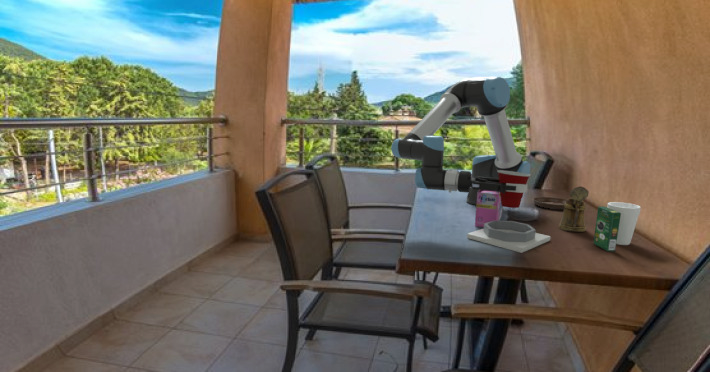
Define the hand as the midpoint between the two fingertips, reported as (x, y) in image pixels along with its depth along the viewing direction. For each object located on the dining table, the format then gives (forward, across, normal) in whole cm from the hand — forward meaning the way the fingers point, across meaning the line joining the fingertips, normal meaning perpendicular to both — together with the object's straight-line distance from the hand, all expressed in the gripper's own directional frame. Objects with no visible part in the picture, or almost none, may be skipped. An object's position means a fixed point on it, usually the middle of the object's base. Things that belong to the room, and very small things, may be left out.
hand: (527, 186), depth 138 cm
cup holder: (-5, 0, -19) cm, 19 cm away
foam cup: (+30, -14, -19) cm, 38 cm away
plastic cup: (-5, +1, -7) cm, 9 cm away
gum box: (-13, -23, -19) cm, 33 cm away
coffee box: (+25, -4, -19) cm, 32 cm away
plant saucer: (+11, -65, -19) cm, 68 cm away
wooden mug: (+17, -22, -19) cm, 34 cm away
